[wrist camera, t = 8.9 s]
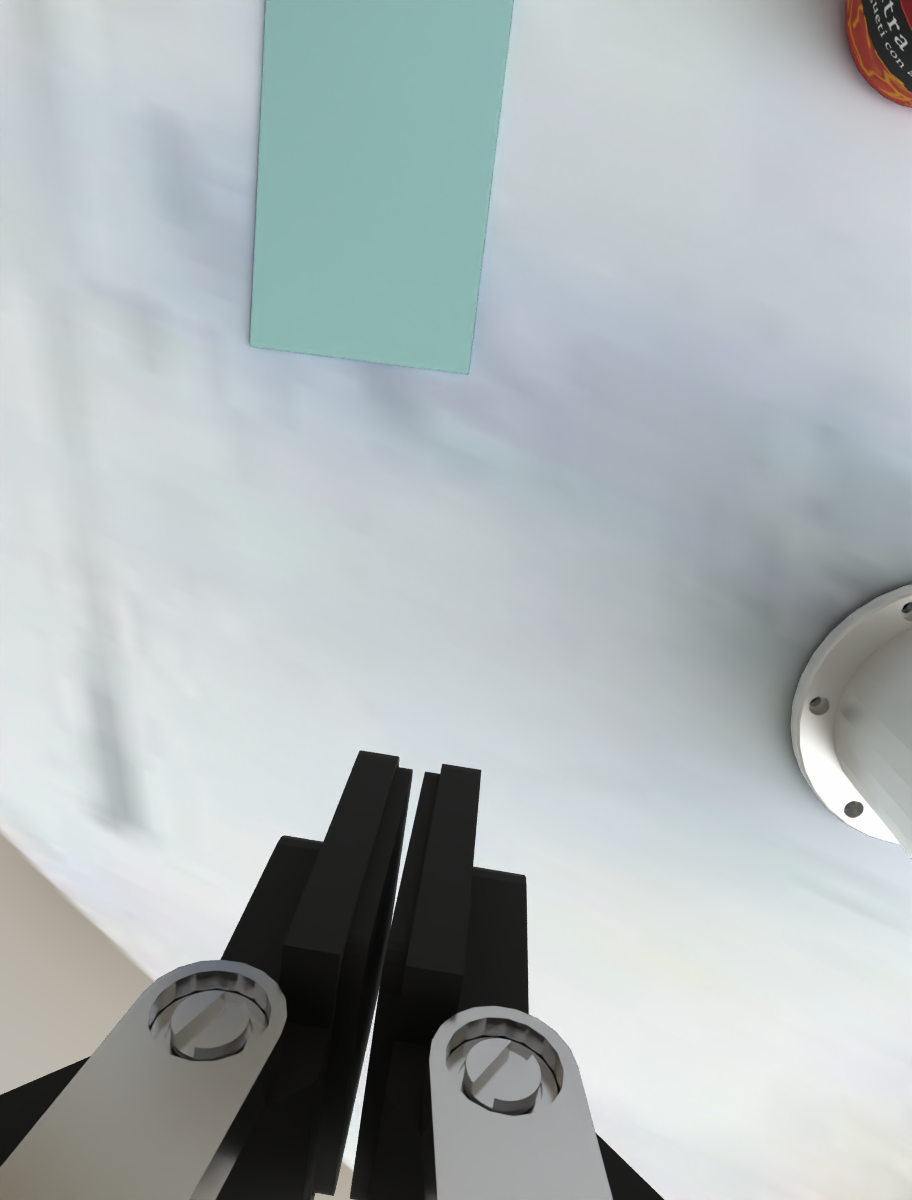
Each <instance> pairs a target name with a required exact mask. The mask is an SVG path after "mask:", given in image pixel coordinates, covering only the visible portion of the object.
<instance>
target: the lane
mask: <svg viewBox="0 0 912 1200" xmlns="http://www.w3.org/2000/svg"><path fill="white" fill-rule="evenodd" d="M513 1H514V0H266V10H265V31H264V53H263V75H262V96H261V118H260V139H259V161H258V183H257V204H256V226H255V247H254V269H253V290H252V312H251V334H250V347H256V348H264V349H272V350H280V351H288V352H296V353H303V354H311V355H319V356H327V357H335V358H343V359H351V360H359V361H367V362H375V363H382V364H390V365H398V366H406V367H414V368H422V369H430V370H438V371H446V372H454V373H461V374H469V365H470V357H471V349H472V340H473V332H474V324H475V316H476V307H477V299H478V291H479V282H480V274H481V266H482V258H483V249H484V241H485V233H486V225H487V216H488V208H489V200H490V191H491V183H492V175H493V167H494V158H495V150H496V142H497V134H498V125H499V117H500V109H501V100H502V92H503V84H504V76H505V67H506V59H507V51H508V42H509V34H510V26H511V18H512V9H513Z"/></svg>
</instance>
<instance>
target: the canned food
mask: <svg viewBox="0 0 912 1200" xmlns="http://www.w3.org/2000/svg"><path fill="white" fill-rule="evenodd" d="M845 9H846V33H847V38H848V43H849V48H850V51H851V54H852V56H853V58H854V61H855V63H856V65H857V67H858V69H859V71H860V72H861V73H862V75H863V76H864V77H865V79H866V80H867V82H868V83H869V84H870V85H871V86H872V87H873V88H874V89H876V90H877V91H878V92H879V93H880V94H882V95H883V96H884V97H886V98H888V99H890V100H892V101H894V102H896V103H898V104H900V105H902V106H907V107H911V108H912V0H847V1H846V7H845Z"/></svg>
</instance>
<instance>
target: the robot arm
mask: <svg viewBox="0 0 912 1200" xmlns="http://www.w3.org/2000/svg"><path fill="white" fill-rule="evenodd" d="M907 603H908V605H907V607H906V608H905V609H903V610H902V608H903V607H904V605H905V604H907ZM816 697H817V699H816V700H815V701H814V702H811V701H812V700H813V699H814V698H816ZM790 727H791V736H792V745H793V751H794V754H795V757H796V759H797V762H798V765H799V768H800V771H801V773H802V774H803V776H804V778H805V779H806V781H807V782H808V784H809V786H810V787H811V789H812V790H813V792H814V793H815V794H816V796H817V797H818V798H819V799H820V801H821V802H822V803H823V804H824V806H825V807H826V808H827V809H828V810H829V811H830V812H831V813H832V814H834V815H835V816H836V817H837V818H838V819H839V820H840V821H842V822H843V823H845V824H846V825H848V826H850V827H852V828H854V829H856V830H858V831H859V832H861V833H863V834H865V835H867V836H870V837H873V838H877V839H880V840H883V841H886V842H889V843H894V844H900V845H901V846H902V847H903V848H904V850H905V851H906V852H907V853H908V855H909V856H910V857H911V858H912V584H910V585H906V586H903V587H901V588H898V589H896V590H893V591H891V592H888V593H886V594H884V595H881V596H879V597H877V598H875V599H873V600H872V601H870V602H869V603H867V604H865V605H864V606H862V607H861V608H859V609H857V610H856V611H854V612H853V613H851V614H850V615H849V616H848V617H847V618H846V619H845V620H843V621H842V622H841V623H840V624H839V625H838V626H837V627H835V628H834V629H833V630H832V631H831V632H830V633H829V634H828V636H827V637H826V638H825V639H824V641H823V642H822V643H821V644H820V646H819V647H818V648H817V649H816V651H815V652H814V653H813V655H812V657H811V658H810V660H809V662H808V664H807V666H806V668H805V670H804V671H803V673H802V675H801V677H800V680H799V683H798V686H797V690H796V693H795V696H794V699H793V704H792V714H791V724H790ZM412 773H413V770H412V769H406V768H400V767H399V757H398V756H392V755H385V754H379V753H373V752H367V751H359V753H358V756H357V758H356V761H355V763H354V766H353V768H352V771H351V773H350V776H349V779H348V781H347V784H346V786H345V789H344V791H343V794H342V796H341V799H340V801H339V804H338V806H337V809H336V811H335V814H334V817H333V819H332V822H331V824H330V827H329V829H328V832H327V834H326V837H325V839H324V842H321V841H315V840H309V839H303V838H297V837H291V836H285V835H284V836H282V837H281V838H280V840H279V841H278V843H277V845H276V847H275V849H274V851H273V853H272V855H271V857H270V859H269V861H268V863H267V865H266V868H265V870H264V872H263V874H262V876H261V878H260V880H259V882H258V884H257V886H256V888H255V890H254V892H253V894H252V896H251V898H250V900H249V902H248V904H247V907H246V909H245V911H244V913H243V915H242V917H241V919H240V921H239V923H238V925H237V927H236V929H235V931H234V933H233V935H232V937H231V939H230V941H229V943H228V945H227V948H226V950H225V952H224V954H223V956H222V958H221V960H214V961H200V962H196V963H193V964H189V965H185V966H182V967H178V968H176V969H175V970H173V971H171V972H169V973H167V974H165V975H163V976H161V977H160V978H158V979H157V980H156V981H155V982H154V983H153V984H152V985H150V986H149V987H148V988H147V989H146V990H145V991H144V992H143V993H142V994H141V995H140V997H139V998H138V999H137V1000H136V1002H135V1003H134V1004H133V1005H132V1006H131V1008H130V1009H129V1010H128V1011H127V1013H126V1014H125V1015H124V1016H123V1018H122V1019H121V1020H120V1021H119V1022H118V1024H117V1025H116V1026H115V1027H114V1029H113V1030H112V1031H111V1032H110V1033H109V1035H108V1036H107V1037H106V1038H105V1040H104V1041H103V1042H102V1043H101V1044H100V1046H99V1047H98V1048H97V1049H96V1051H95V1052H94V1053H93V1054H92V1055H91V1056H90V1057H88V1058H85V1059H83V1060H81V1061H78V1062H76V1063H74V1064H72V1065H69V1066H67V1067H64V1068H62V1069H60V1070H57V1071H55V1072H53V1073H50V1074H48V1075H46V1076H43V1077H42V1078H39V1079H37V1080H34V1081H32V1082H30V1083H27V1084H25V1085H23V1086H20V1087H18V1088H16V1089H13V1090H11V1091H9V1092H6V1093H4V1094H2V1095H0V1200H314V1196H315V1193H321V1194H327V1195H332V1196H334V1193H335V1189H336V1185H337V1181H338V1176H339V1171H340V1167H341V1162H342V1158H343V1153H344V1148H345V1144H346V1139H347V1135H348V1130H349V1125H350V1121H351V1116H352V1111H353V1107H354V1102H355V1098H356V1093H357V1088H358V1084H359V1079H360V1075H361V1070H362V1065H363V1061H364V1056H365V1051H366V1047H367V1042H368V1038H369V1033H370V1028H371V1024H372V1019H373V1015H374V1010H375V1005H376V1001H377V996H378V1002H377V1009H376V1016H375V1023H374V1030H373V1037H372V1045H371V1052H370V1059H369V1066H368V1073H367V1080H366V1087H365V1094H364V1101H363V1108H362V1115H361V1122H360V1129H359V1137H358V1144H357V1151H356V1158H355V1165H354V1172H353V1179H352V1186H351V1193H350V1199H355V1200H664V1199H663V1198H662V1197H661V1196H660V1195H659V1194H658V1193H657V1192H656V1191H655V1190H654V1189H653V1188H652V1187H651V1186H650V1185H649V1184H648V1183H647V1182H646V1181H645V1180H644V1179H643V1178H641V1177H640V1176H639V1175H638V1174H637V1173H636V1172H635V1171H634V1170H633V1169H632V1168H631V1167H630V1166H629V1165H628V1164H627V1163H626V1162H625V1161H624V1160H623V1159H622V1158H621V1157H620V1156H619V1155H618V1154H617V1153H616V1152H615V1151H614V1150H613V1149H612V1148H611V1147H610V1146H609V1145H608V1144H607V1143H606V1142H605V1141H604V1140H603V1139H601V1138H600V1137H599V1136H598V1135H597V1134H596V1133H595V1129H594V1125H593V1122H592V1118H591V1114H590V1110H589V1106H588V1102H587V1099H586V1095H585V1091H584V1087H583V1083H582V1079H581V1076H580V1072H579V1068H578V1065H577V1063H576V1061H575V1058H574V1056H573V1054H572V1052H571V1049H570V1048H569V1046H568V1045H567V1044H566V1043H565V1042H564V1041H563V1039H562V1038H561V1037H560V1036H559V1035H558V1033H557V1032H556V1031H555V1030H553V1029H552V1028H550V1027H549V1026H548V1025H546V1024H545V1023H543V1022H542V1021H541V1020H539V1019H538V1018H536V1017H533V1016H531V1015H529V1008H528V950H527V891H526V877H525V875H521V874H515V873H509V872H503V871H496V870H490V869H484V868H478V867H473V860H474V848H475V837H476V825H477V813H478V802H479V790H480V779H481V770H478V769H472V768H466V767H459V766H453V765H447V764H442V768H441V773H440V774H437V773H431V772H425V774H424V779H423V783H422V788H421V792H420V797H419V801H418V806H417V811H416V815H415V820H414V824H413V829H412V833H411V838H410V842H409V847H408V852H407V856H406V861H405V865H404V870H403V874H402V879H401V884H400V888H399V893H398V897H397V902H396V906H395V911H394V915H393V908H394V901H395V894H396V887H397V880H398V873H399V866H400V859H401V852H402V845H403V838H404V831H405V824H406V817H407V810H408V803H409V796H410V788H411V781H412ZM392 915H393V920H392ZM391 922H392V925H391ZM379 987H380V988H379ZM378 992H379V995H378Z"/></svg>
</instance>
